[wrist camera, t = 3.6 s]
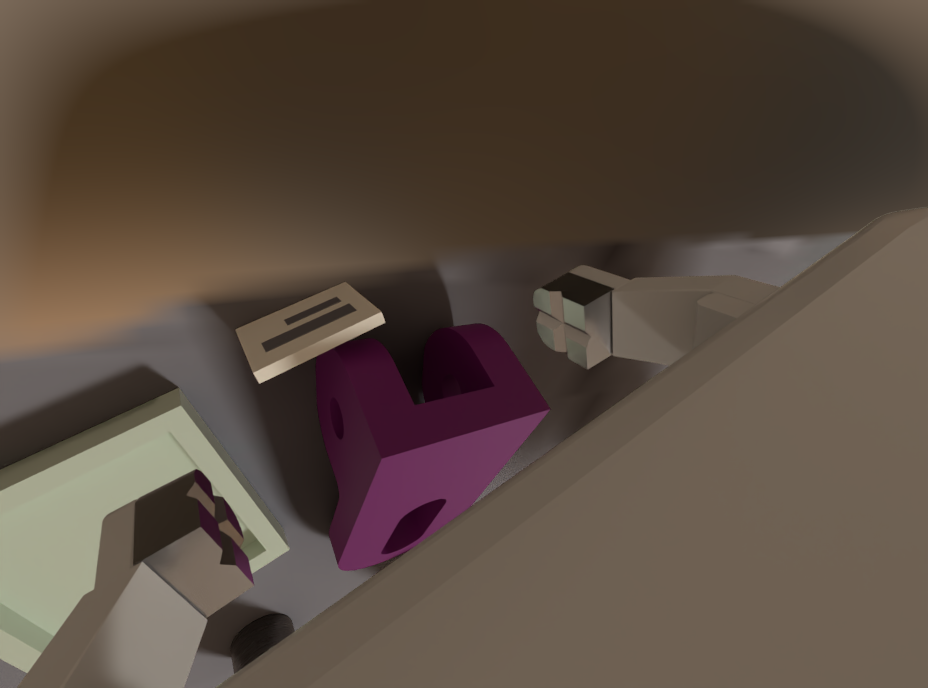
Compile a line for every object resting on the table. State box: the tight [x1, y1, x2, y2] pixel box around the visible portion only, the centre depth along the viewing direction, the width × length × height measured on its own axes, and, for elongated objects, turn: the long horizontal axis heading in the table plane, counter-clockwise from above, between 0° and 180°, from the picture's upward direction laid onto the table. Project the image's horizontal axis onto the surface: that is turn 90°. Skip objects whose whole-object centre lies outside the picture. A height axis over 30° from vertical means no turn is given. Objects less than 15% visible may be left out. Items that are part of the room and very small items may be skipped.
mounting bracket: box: [316, 324, 550, 571], centre depth 29 cm, size 10×8×18 cm
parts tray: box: [0, 388, 290, 673], centre depth 22 cm, size 12×12×2 cm
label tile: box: [235, 282, 385, 384], centre depth 21 cm, size 1×6×5 cm, turn 103°
